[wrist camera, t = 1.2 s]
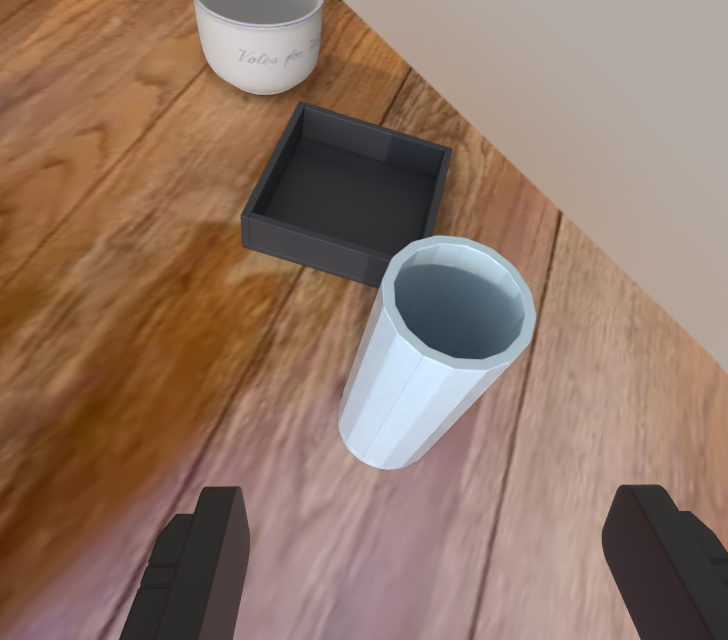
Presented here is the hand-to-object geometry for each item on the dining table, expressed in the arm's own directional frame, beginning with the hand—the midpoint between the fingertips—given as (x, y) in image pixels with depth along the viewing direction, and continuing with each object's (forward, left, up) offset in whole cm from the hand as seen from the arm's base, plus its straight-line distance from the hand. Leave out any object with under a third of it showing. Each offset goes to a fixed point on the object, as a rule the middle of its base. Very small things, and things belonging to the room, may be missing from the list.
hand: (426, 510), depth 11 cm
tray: (-18, +20, -21) cm, 34 cm away
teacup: (-35, +27, -21) cm, 49 cm away
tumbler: (-4, +9, -21) cm, 23 cm away
